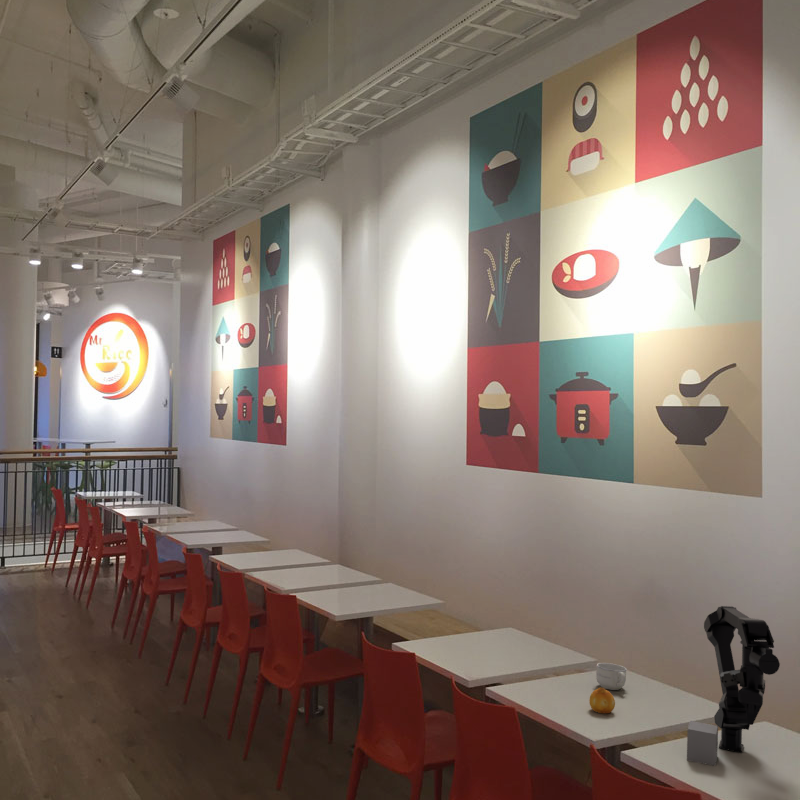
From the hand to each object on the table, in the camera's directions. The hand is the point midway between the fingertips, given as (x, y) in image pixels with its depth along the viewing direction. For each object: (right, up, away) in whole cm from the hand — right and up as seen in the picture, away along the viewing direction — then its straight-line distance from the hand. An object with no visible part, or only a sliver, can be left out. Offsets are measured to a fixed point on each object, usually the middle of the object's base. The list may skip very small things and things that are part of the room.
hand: (751, 719), depth 225 cm
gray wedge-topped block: (-13, -13, +3) cm, 18 cm away
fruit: (-33, -14, +40) cm, 54 cm away
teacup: (-22, -15, +65) cm, 70 cm away
